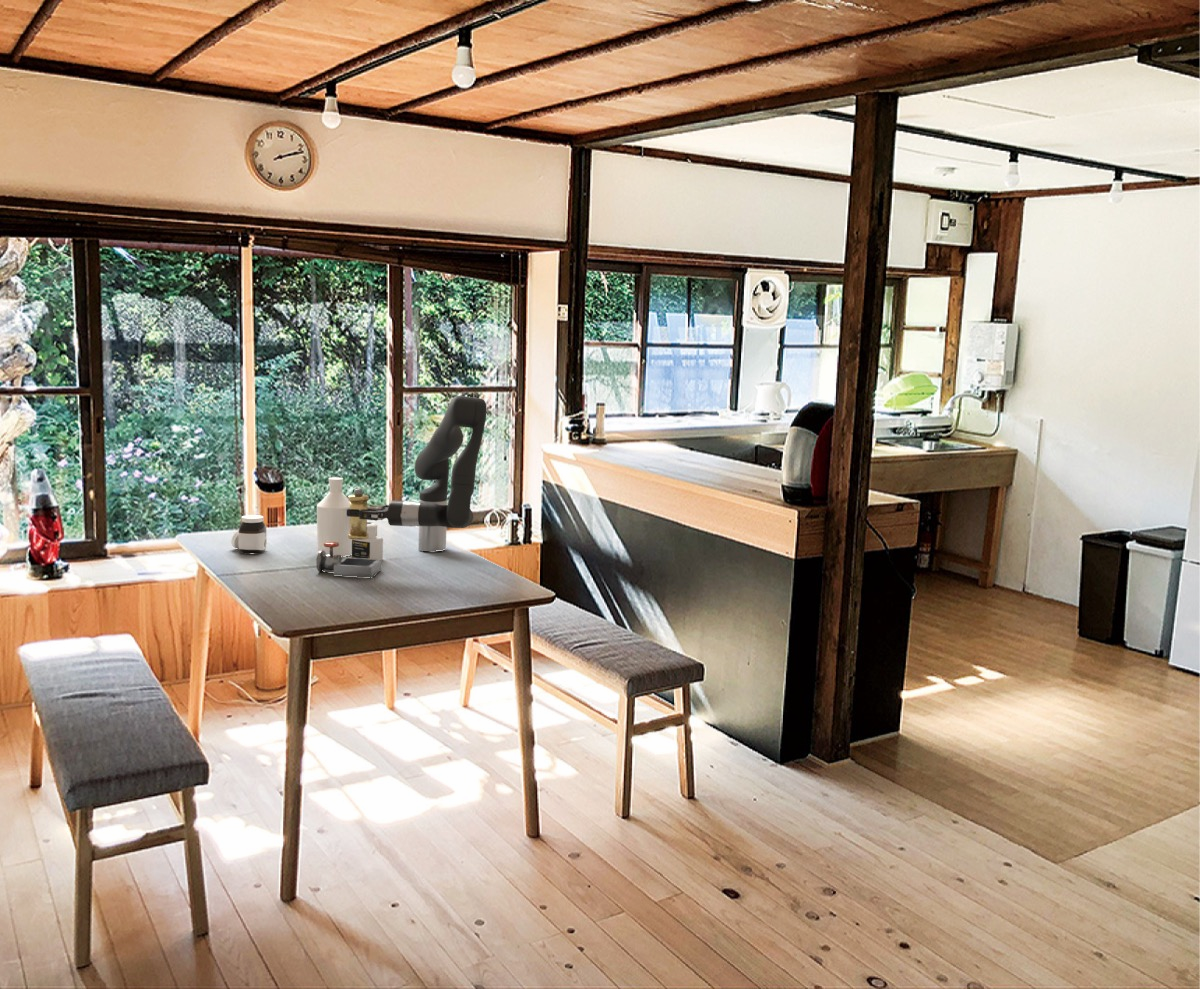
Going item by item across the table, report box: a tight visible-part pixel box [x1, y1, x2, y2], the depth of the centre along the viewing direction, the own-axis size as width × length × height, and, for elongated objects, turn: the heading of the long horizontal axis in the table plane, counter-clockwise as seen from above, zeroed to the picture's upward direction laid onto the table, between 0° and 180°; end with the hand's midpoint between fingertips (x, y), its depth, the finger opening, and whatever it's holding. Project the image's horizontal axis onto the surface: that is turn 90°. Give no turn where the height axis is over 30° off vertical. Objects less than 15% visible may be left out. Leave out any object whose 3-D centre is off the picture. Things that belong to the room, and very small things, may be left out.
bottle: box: [316, 476, 352, 556], centre depth 345 cm, size 12×12×25 cm
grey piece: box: [316, 542, 382, 578], centre depth 322 cm, size 11×17×9 cm, turn 87°
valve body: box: [347, 488, 370, 540], centre depth 319 cm, size 6×6×15 cm
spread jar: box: [230, 514, 268, 554], centre depth 345 cm, size 12×11×12 cm
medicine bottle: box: [351, 521, 384, 560], centre depth 340 cm, size 7×7×12 cm
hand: (349, 511), depth 319 cm, fingers closed on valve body, 5 cm apart
